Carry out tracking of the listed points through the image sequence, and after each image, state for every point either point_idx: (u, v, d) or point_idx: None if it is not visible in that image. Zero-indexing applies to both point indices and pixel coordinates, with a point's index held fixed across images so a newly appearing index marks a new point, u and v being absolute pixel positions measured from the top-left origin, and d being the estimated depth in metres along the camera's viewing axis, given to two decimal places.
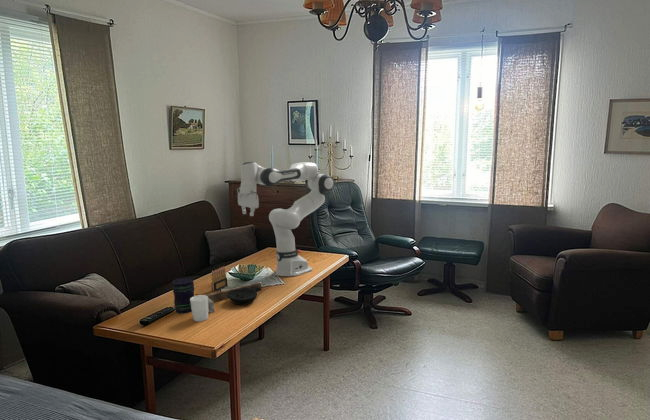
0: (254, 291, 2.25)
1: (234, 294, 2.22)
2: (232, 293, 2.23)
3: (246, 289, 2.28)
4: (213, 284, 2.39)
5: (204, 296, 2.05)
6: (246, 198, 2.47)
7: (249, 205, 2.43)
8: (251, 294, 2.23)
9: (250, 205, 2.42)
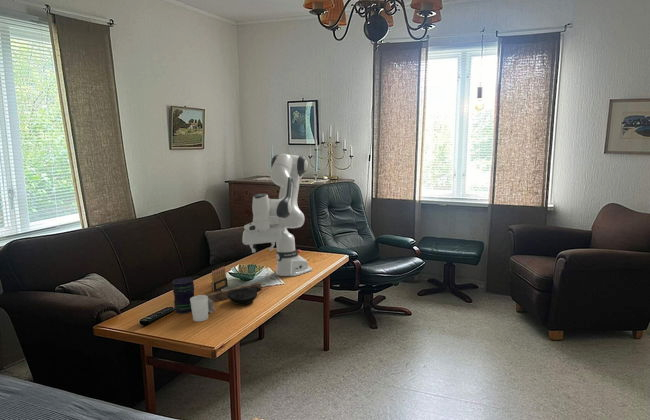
0: (254, 291, 2.25)
1: (234, 294, 2.22)
2: (232, 293, 2.23)
3: (246, 289, 2.28)
4: (213, 284, 2.39)
5: (204, 296, 2.05)
6: (264, 234, 2.28)
7: (273, 239, 2.30)
8: (251, 294, 2.23)
9: (275, 239, 2.31)
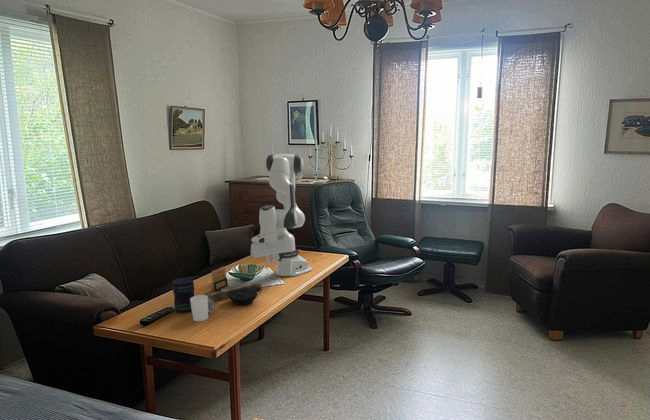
0: (254, 291, 2.25)
1: (234, 294, 2.22)
2: (232, 293, 2.23)
3: (246, 289, 2.28)
4: (213, 284, 2.39)
5: (204, 296, 2.05)
6: (272, 245, 2.28)
7: (281, 250, 2.31)
8: (251, 294, 2.23)
9: (283, 250, 2.31)
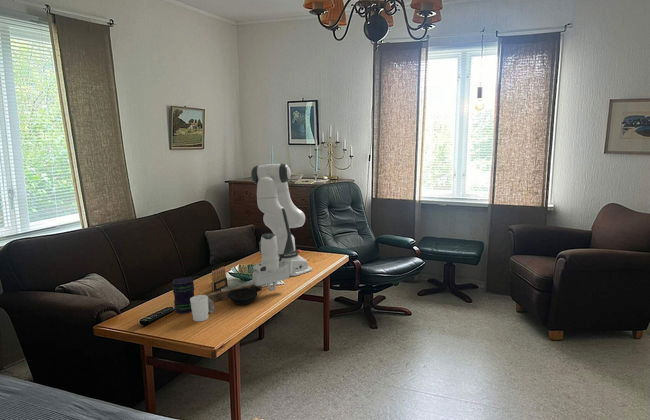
0: (254, 291, 2.25)
1: (234, 294, 2.22)
2: (232, 293, 2.23)
3: (246, 289, 2.28)
4: (213, 284, 2.39)
5: (204, 296, 2.05)
6: (273, 273, 2.30)
7: (282, 277, 2.33)
8: (251, 294, 2.23)
9: (284, 277, 2.34)
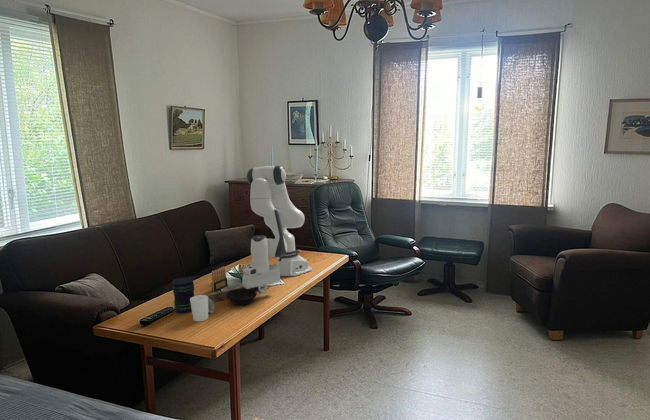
0: (253, 291, 2.25)
1: (233, 294, 2.22)
2: (231, 293, 2.22)
3: (244, 289, 2.27)
4: (213, 284, 2.39)
5: (204, 296, 2.05)
6: (264, 275, 2.27)
7: (273, 280, 2.30)
8: (250, 294, 2.23)
9: (275, 279, 2.30)
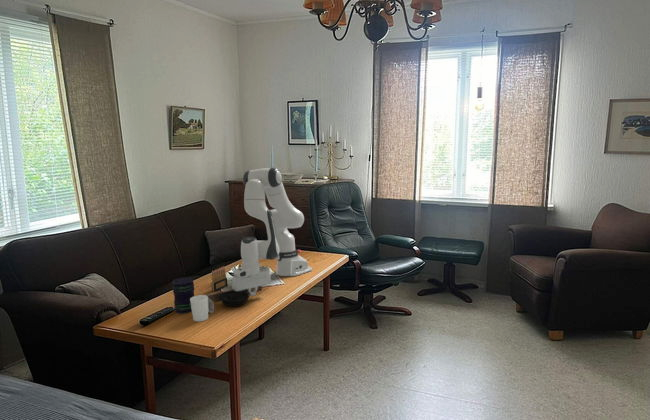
0: (244, 292, 2.24)
1: (225, 297, 2.19)
2: (222, 296, 2.19)
3: (234, 291, 2.25)
4: (213, 284, 2.39)
5: (204, 296, 2.05)
6: (254, 278, 2.24)
7: (263, 282, 2.27)
8: (242, 295, 2.22)
9: (265, 282, 2.27)
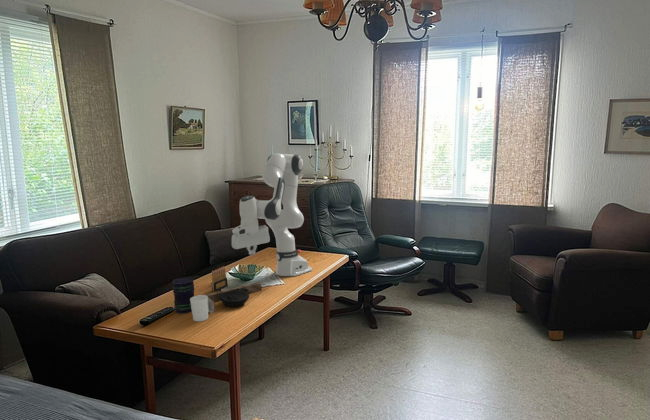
0: (244, 292, 2.24)
1: (225, 297, 2.19)
2: (222, 296, 2.19)
3: (234, 291, 2.25)
4: (213, 284, 2.39)
5: (204, 296, 2.05)
6: (253, 236, 2.26)
7: (262, 241, 2.29)
8: (242, 295, 2.22)
9: (264, 240, 2.30)
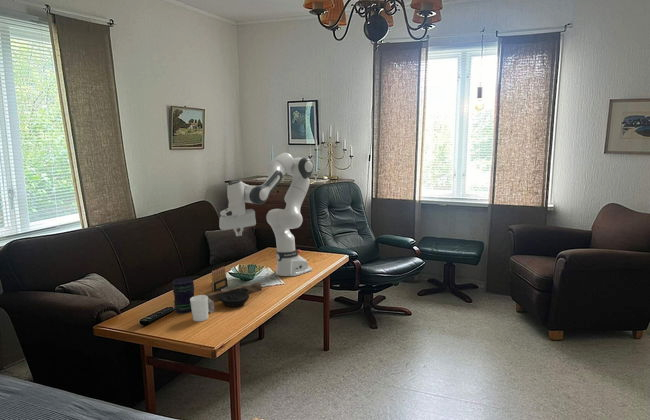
0: (244, 292, 2.24)
1: (225, 297, 2.19)
2: (222, 296, 2.19)
3: (234, 291, 2.25)
4: (213, 284, 2.39)
5: (204, 296, 2.05)
6: (240, 218, 2.39)
7: (249, 224, 2.42)
8: (242, 295, 2.22)
9: (251, 223, 2.43)
